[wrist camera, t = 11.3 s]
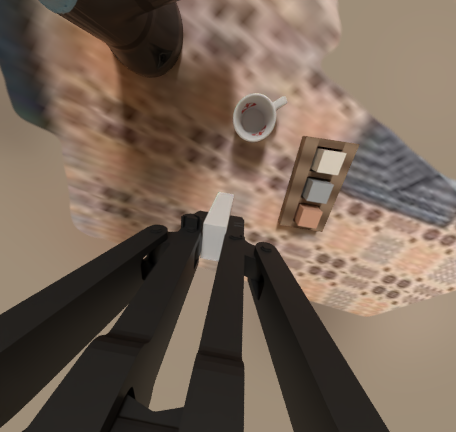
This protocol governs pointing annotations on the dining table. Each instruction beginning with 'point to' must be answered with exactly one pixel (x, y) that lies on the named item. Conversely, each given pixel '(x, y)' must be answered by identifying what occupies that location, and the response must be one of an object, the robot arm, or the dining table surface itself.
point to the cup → (256, 116)
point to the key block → (303, 170)
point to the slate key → (317, 190)
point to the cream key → (327, 161)
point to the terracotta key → (307, 215)
